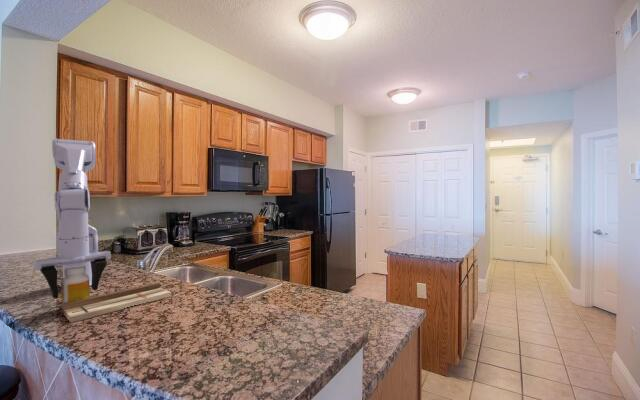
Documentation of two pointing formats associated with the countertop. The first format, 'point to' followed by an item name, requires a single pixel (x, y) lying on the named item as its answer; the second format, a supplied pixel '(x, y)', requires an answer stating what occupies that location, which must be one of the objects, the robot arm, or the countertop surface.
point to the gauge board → (113, 301)
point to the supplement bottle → (74, 284)
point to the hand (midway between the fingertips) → (75, 293)
